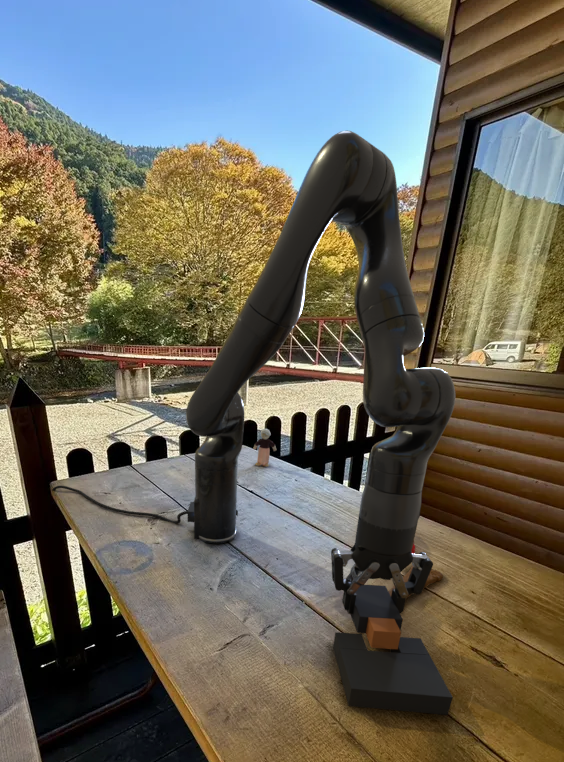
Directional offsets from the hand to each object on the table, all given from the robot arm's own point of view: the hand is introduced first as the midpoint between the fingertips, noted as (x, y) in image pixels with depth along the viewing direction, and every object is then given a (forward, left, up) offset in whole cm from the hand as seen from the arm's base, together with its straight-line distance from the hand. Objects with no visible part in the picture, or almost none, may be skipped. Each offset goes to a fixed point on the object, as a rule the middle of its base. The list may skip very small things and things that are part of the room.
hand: (371, 611), depth 63 cm
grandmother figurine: (-13, +78, -4) cm, 79 cm away
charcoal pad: (0, -1, -1) cm, 2 cm away
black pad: (0, -9, -4) cm, 10 cm away
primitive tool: (+10, +12, -4) cm, 16 cm away
